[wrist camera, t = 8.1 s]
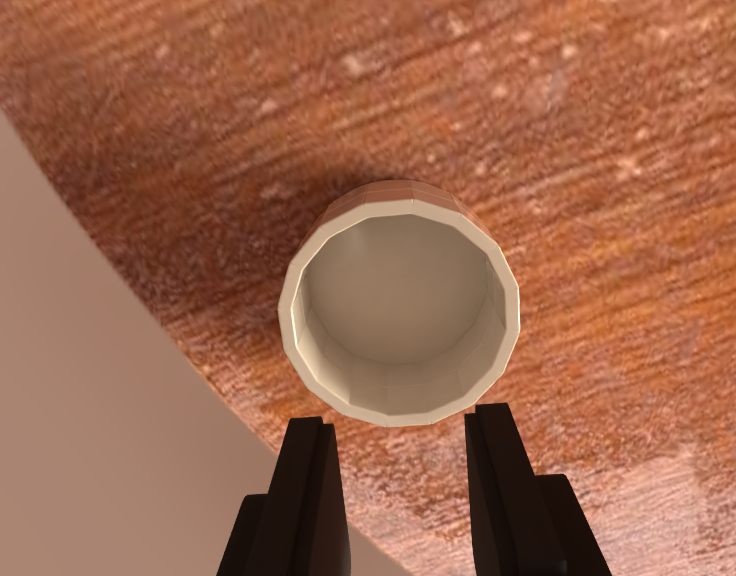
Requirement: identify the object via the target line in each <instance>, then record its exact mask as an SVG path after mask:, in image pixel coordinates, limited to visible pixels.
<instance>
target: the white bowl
mask: <svg viewBox="0 0 736 576" xmlns="http://www.w3.org/2000/svg"><path fill="white" fill-rule="evenodd" d="M277 310H278V316H279V323H280V330H281V337H282V343H283V349H284V352H285V354H286V355H287V357H288V359H289V360H290V362H291V364H292V365H293V367H294V368H295V370H296V372H297V373H298V375H299V377H300V378H301V380H302V382H303V383H304V385H305V386H306V388H307V389H308V390H309V391H311V392H312V393H313V394H315V395H316V396H317V397H319V398H320V399H322V400H323V401H324V402H326V403H327V404H328V405H330V406H331V407H332V408H334V409H335V410H336V411H338V412H339V413H340V414H343V415H344V416H347V417H351V418H354V419H358V420H361V421H365V422H368V423H372V424H375V425H379V426H382V427H399V426H413V425H427V424H430V423H431V424H432V423H435V422H437V421H439V420H441V419H443V418H446V417H448V416H450V415H452V414H454V413H457V412H459V411H461V410H463V409H465V408H468V407H470V406H471V405H473V404H474V403H475V402H476V401H477V400H478V399H479V398H480V397H481V396H482V395H483V394H484V393H485V392H486V391H487V390H488V389H489V388H490V387H491V386H492V385H493V384H494V383H495V382H496V380H497V379H498V378H499V377H500V376H501V375H502V374H503V373H504V371H505V368H506V366H507V363H508V361H509V358H510V356H511V353H512V351H513V348H514V346H515V343H516V341H517V339H518V336H519V334H520V333H519V332H520V310H519V288H518V284H517V282H516V280H515V278H514V276H513V274H512V272H511V270H510V267H509V265H508V263H507V261H506V259H505V257H504V255H503V253H502V251H501V249H500V247H499V245H498V244H497V242H496V241H495V239H494V238H493V237H492V235H491V234H490V232H489V231H488V229H487V228H486V227H485V225H484V224H483V222H482V221H481V220H480V218H479V217H478V216H477V215H476V214H474V213H473V212H472V211H471V210H470V209H469V208H468V207H467V206H466V205H465V204H464V203H463V202H461V201H460V200H459V199H457V198H456V197H454V196H453V195H452V194H451V193H449V192H447V191H444V190H442V189H440V188H438V187H435V186H433V185H430V184H427V183H423V182H419V181H413V180H404V179H394V180H383V181H377V182H373V183H369V184H366V185H363V186H360V187H358V188H356V189H353V190H351V191H349V192H348V193H346V194H344V195H343V196H341V197H340V198H338V199H337V200H335V201H334V202H332V203H331V204H329V206H328V207H327V208H326V209H325V211H324V212H323V213H322V214H321V215H320V216H319V217H318V219H317V220H316V222H315V223H314V224H313V225H312V227H311V228H310V229H309V230H308V232H307V233H306V235H305V236H304V238H303V240H302V242H301V243H300V245H299V247H298V249H297V250H296V252H295V254H294V256H293V258H292V259H291V261H290V263H289V265H288V269H287V273H286V276H285V280H284V283H283V287H282V291H281V294H280V298H279V302H278V308H277Z"/></svg>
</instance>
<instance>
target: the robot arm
mask: <svg viewBox="0 0 736 576" xmlns="http://www.w3.org/2000/svg"><path fill="white" fill-rule="evenodd" d="M464 419H465V436H466V453H467V469H468V485H469V502H470V518H471V534H472V547H473V556H474V563H475V569H476V574H477V576H612V574H611V572H610V570H609V568H608V565H607V563H606V561H605V559H604V557H603V554H602V552H601V550H600V548H599V546H598V544H597V541H596V539H595V537H594V535H593V533H592V530H591V528H590V526H589V524H588V522H587V519H586V517H585V515H584V513H583V511H582V509H581V506H580V504H579V502H578V500H577V498H576V495H575V493H574V491H573V489H572V487H571V485H570V482H569V480H568V479H567V477H566V475H564V474H550V475H536V476H535V475H534V472H533V469H532V467H531V464H530V461H529V459H528V456H527V453H526V451H525V448H524V445H523V443H522V440H521V437H520V435H519V432H518V429H517V427H516V424H515V421H514V419H513V416H512V414H511V411H510V408H509V406H508V404H507V403H494V404H480V405H476V407H475V413H469V414H465V416H464ZM350 574H351V554H350V545H349V536H348V528H347V520H346V513H345V505H344V497H343V489H342V481H341V474H340V466H339V458H338V450H337V443H336V435H335V428H334V424H333V423H332V424H323V420H322V417H321V416H318V417H304V418H291V419H290V421H289V424H288V427H287V430H286V434H285V437H284V440H283V444H282V447H281V450H280V454H279V457H278V460H277V464H276V467H275V471H274V474H273V477H272V481H271V484H270V487H269V491H268V494H253V495H247V496H245V498H244V500H243V502H242V504H241V507H240V510H239V513H238V515H237V518H236V521H235V524H234V527H233V530H232V532H231V535H230V538H229V541H228V544H227V547H226V549H225V552H224V555H223V558H222V561H221V563H220V566H219V569H218V572H217V575H216V576H350Z"/></svg>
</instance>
